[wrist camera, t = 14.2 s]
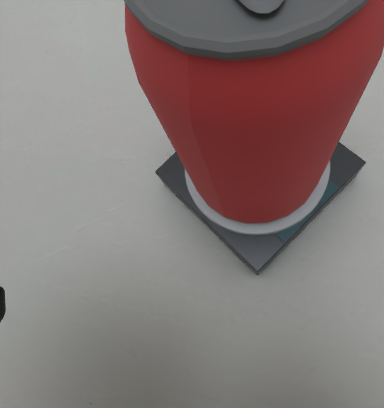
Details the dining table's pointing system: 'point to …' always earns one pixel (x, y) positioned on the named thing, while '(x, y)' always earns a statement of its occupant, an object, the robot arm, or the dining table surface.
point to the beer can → (254, 91)
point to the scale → (272, 231)
